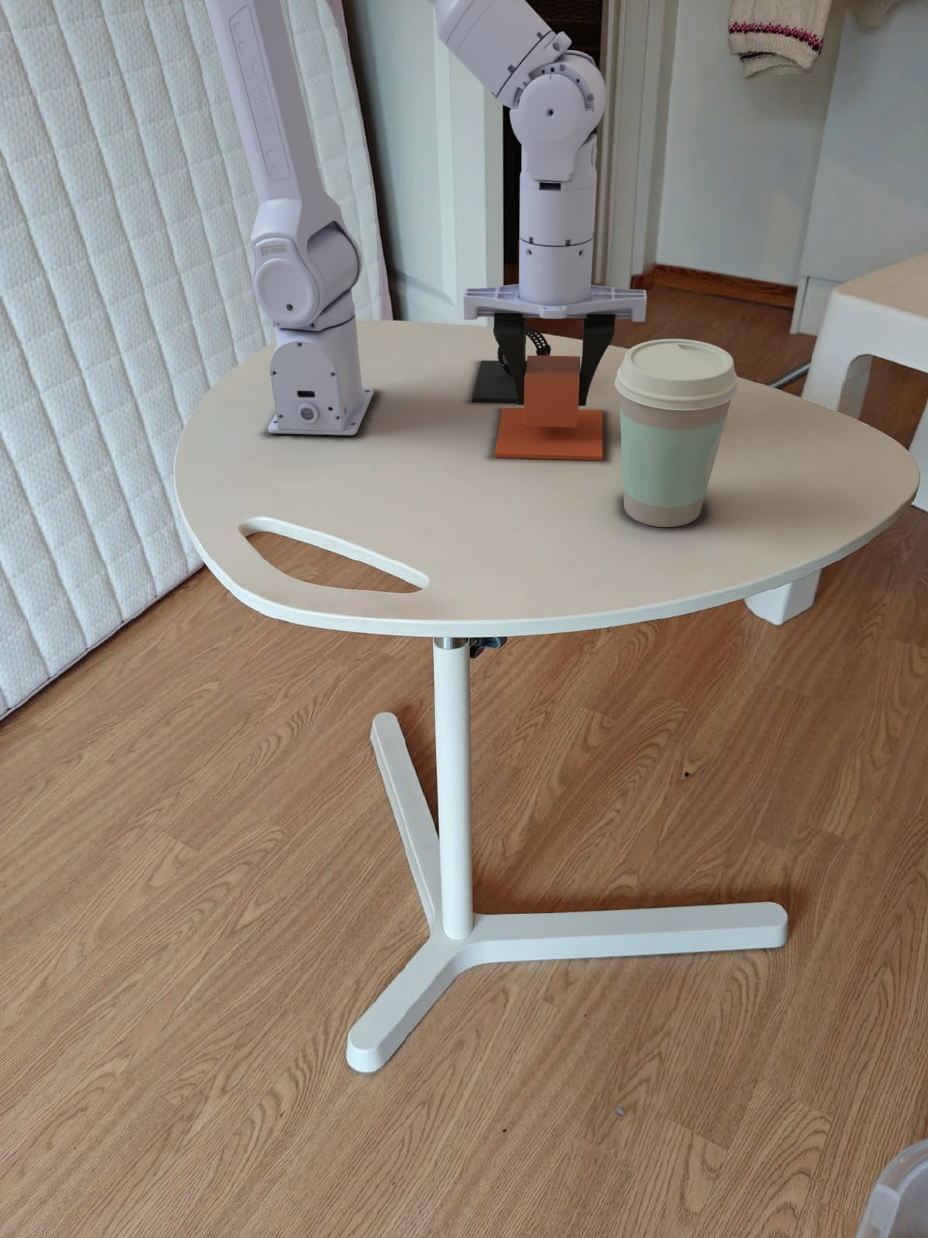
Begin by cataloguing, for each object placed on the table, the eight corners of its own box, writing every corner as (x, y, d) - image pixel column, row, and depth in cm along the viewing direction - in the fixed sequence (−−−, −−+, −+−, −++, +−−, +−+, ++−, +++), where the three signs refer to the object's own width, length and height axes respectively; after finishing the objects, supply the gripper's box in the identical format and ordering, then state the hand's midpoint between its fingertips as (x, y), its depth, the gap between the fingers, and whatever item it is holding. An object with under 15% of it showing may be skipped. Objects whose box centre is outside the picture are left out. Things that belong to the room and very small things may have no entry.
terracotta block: (577, 427, 83) (579, 377, 80) (524, 426, 83) (524, 376, 80) (578, 404, 86) (580, 355, 83) (526, 403, 87) (527, 354, 84)
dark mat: (569, 403, 91) (569, 399, 90) (472, 401, 92) (472, 397, 91) (570, 365, 98) (571, 361, 98) (481, 363, 99) (481, 360, 98)
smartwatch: (527, 366, 97) (528, 316, 94) (553, 385, 93) (555, 333, 90) (490, 374, 95) (490, 324, 92) (515, 393, 92) (516, 342, 89)
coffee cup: (724, 539, 71) (749, 384, 64) (606, 535, 72) (618, 382, 65) (713, 482, 78) (734, 336, 71) (605, 479, 79) (615, 334, 72)
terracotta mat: (602, 460, 82) (602, 456, 81) (494, 457, 82) (494, 453, 82) (601, 413, 89) (602, 409, 89) (502, 411, 90) (502, 407, 89)
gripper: (457, 250, 73) (462, 418, 81) (654, 252, 72) (638, 422, 80) (467, 224, 79) (470, 384, 87) (649, 225, 77) (636, 387, 85)
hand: (551, 400), depth 84 cm, fingers closed on terracotta block, 4 cm apart
